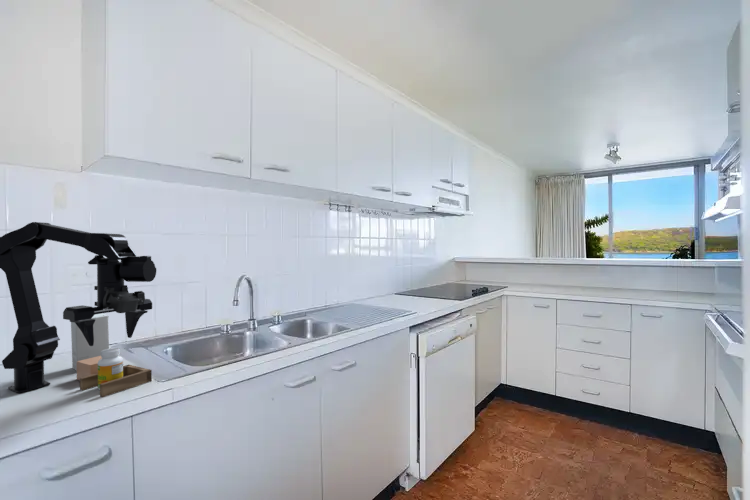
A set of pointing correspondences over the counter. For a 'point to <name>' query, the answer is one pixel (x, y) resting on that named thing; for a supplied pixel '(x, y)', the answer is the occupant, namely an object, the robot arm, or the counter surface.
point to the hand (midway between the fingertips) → (111, 341)
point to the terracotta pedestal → (87, 367)
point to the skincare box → (81, 345)
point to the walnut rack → (118, 380)
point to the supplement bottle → (110, 366)
